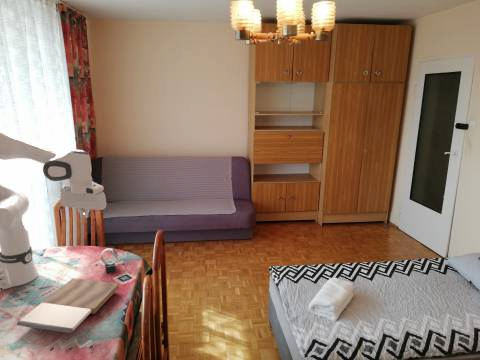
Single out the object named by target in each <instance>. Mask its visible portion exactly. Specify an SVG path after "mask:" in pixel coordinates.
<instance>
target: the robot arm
mask: <svg viewBox="0 0 480 360" xmlns="http://www.w3.org/2000/svg"><path fill="white" fill-rule="evenodd" d="M14 159H15V160H16V159H29V160H31V161H35V162H37V163H41V164H42V165H43V166H42V171H43V172H42V173H43V175H44V176H45V178H47V180H49V181H53V182H60V181H65V180H69V185H63V186H61V188H60V197H59V198H60V199H59V200H60V205H61V207H64V208H74V209H75V208H76V210H77V212H78V214H79V216H80V218H81V219H82V218H84V219H88V218H89V216H90V214H89V213H90V211H91V210H98V211H102V210H104V209H105V208H106V207H107V199H106V198H107V197H106V193H105V192H104V190H105V188H104V186H103V185H101V184H98V182H95V181H93V177H92V172H93V171H92V162H91V157H90V154H89V152H87V151H86V150H83V149H77V148H76V149H75V148H72V149H69V150H68V151H67V152H55V151H52V150H49V149H47V148H44V147H41V146H40V145H39V146H38V145H35V144H32V143H30V142H27V141H25V140H23V139H20V138H18V137H16V136H13V135H12V134H9V133H7V132H5V131H3V130H0V160H7V161H8V160H14ZM29 204H30V201H29V198H28V197H27V196H26V195H25V194H22V192H21V193H20V192H16V191H14V190H12V189H10V188H8V187H6V186H4V185H2V184H0V289H1V288H2V290H6V289H9V288H13V287H18V286H22V285H23V286H24V285H26V284H28V283H30V282H32V281H34V280H35V279H36V278H38V276H39V272H38V267H37V266H36V263H35V260H34V257H33V249H32V246H31V244H30V242H31V241H30V235H29V231H28V230H27V229H26V228H25V225H24V222H23V216H24V215H25V214H26V213H27V211H28V210H29ZM83 209H84V210H83ZM84 211H85V212H84Z"/></svg>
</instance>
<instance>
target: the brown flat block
mask: <svg viewBox="0 0 480 360" xmlns="http://www.w3.org/2000/svg"><path fill="white" fill-rule="evenodd" d="M119 288H120V286H119V283H115V282H108V281H107V282H105V281H97V280H90V279H82V278H71V279H70V280H69V281H67V282H66V283H65V284H63V286H61V287H60V288H59V289H57V290H56V291H55V292H54V293H52V295H50V296H49V297H47V298H46V299H45V300H44V301H42V302H43V303H51V304H58V305H65V306H73V307H80V308H87V309H91V313H90V314H89V315H96V314H97V313H98V311H99V310H100V309H101V307H103V305H104V304H105V303H106V302H107V301H108V300H109V299H110V298H111V297H112V296H114V295H115V293H116V291H118V289H119Z"/></svg>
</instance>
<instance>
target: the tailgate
mask: <svg viewBox="0 0 480 360" xmlns="http://www.w3.org/2000/svg"><path fill="white" fill-rule="evenodd" d="M43 302H44V301H42V302H41V303H40V304H38V305H37V306H36V307H34V308H33V309H32V310H31V311H30V312H28V313H27V314H26V315H24V316H23V317H22V318H21V319H19V320H18V321H17V322H16V326H20V327H27V328H34V329H40V330H47V331H54V332H60V333H67V334H72V333H73V331H75V330H76V328H78V326H80V324H81V323H82V322H83V321H85V319H86V318H87V317H88V316H89V315H91V314H90V313H91V309H87V308H80V307H73V306H65V305H58V304H51V303H43Z"/></svg>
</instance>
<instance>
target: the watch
mask: <svg viewBox="0 0 480 360" xmlns="http://www.w3.org/2000/svg"><path fill="white" fill-rule="evenodd" d="M108 251H109V252H110V253H111V255H112V256H113V257H114V258H115V259H114V260H110V261H106V259H104V257H103V254H104V253H106V252H108ZM118 259H119V254H118V252H117V251H116V249H115V248H114V247H108V248H107V247H106V248H105V249H103V250H102V251H101V253H100V260H101V262H102V263H103V264H104V268H105V273H106V274H109V273H115V272H116V262H117V261H118Z"/></svg>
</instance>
